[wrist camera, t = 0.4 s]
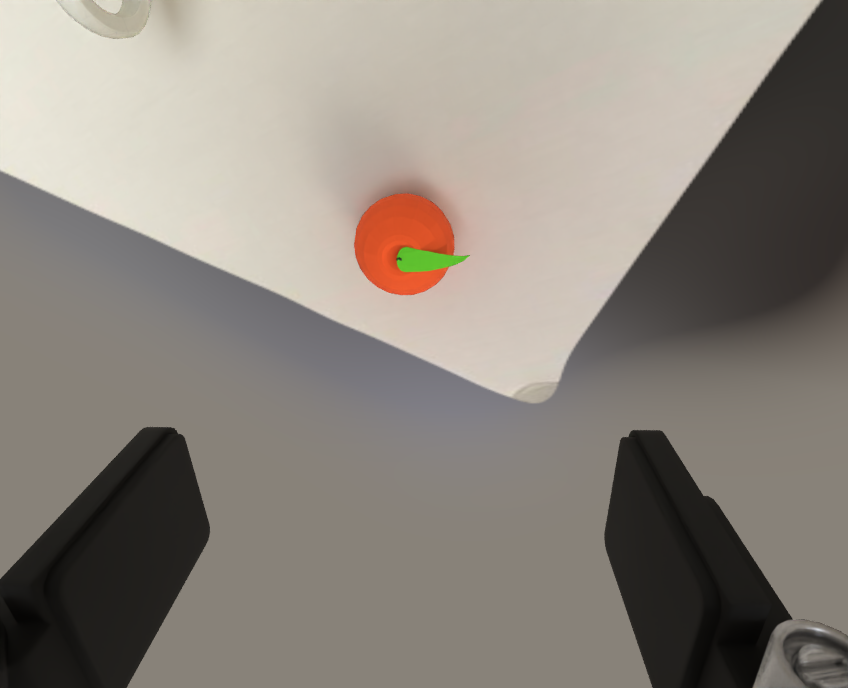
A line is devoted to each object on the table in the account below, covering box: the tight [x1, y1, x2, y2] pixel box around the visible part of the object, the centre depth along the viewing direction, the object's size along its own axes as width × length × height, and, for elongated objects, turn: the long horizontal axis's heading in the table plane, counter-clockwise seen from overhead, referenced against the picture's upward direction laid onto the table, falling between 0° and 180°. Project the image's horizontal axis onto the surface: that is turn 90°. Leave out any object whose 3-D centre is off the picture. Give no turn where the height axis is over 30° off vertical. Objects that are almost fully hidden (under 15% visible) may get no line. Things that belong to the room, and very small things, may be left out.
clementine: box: [354, 194, 470, 295], centre depth 35 cm, size 8×7×7 cm
